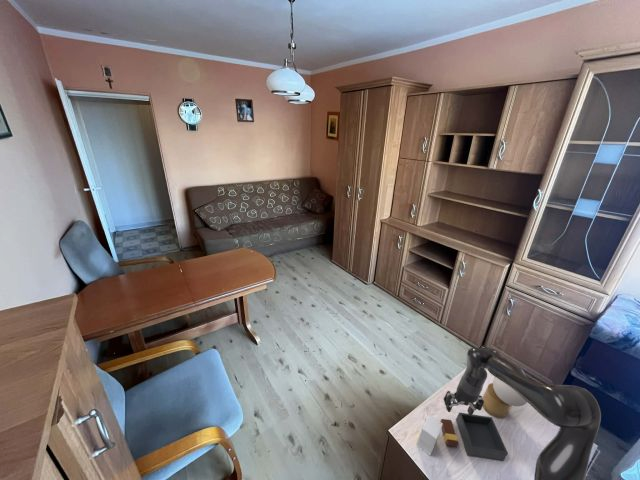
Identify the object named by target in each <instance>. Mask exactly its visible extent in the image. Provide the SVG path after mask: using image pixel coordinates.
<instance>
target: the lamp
mask: <svg viewBox="0 0 640 480" xmlns="http://www.w3.org/2000/svg"><path fill="white" fill-rule="evenodd" d="M482 398H483V401H484V404H483V406H482V409H484V411H486V412H487V413H488V414H489V415H490V416H491V417H494V418H496V419H505V418H506V417H507V415H508V414H509V412H510V411H511V409H512V408H513V407H522V406H526V404H528V402H527V401H526V400H524V399H523V398H522V397H521V396H520V395H519V394H518V393H517V392H516V391H515V390H514V389H512V388H511V387H510V386H508V385H507V384H505V383H504V382H502V381H501V380H499V379H498V378H496V377H495V376H494V378H493V381H492V382H491V383H489V384H488V385H487V387H486V389H485V391H484V393H483V395H482Z"/></svg>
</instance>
